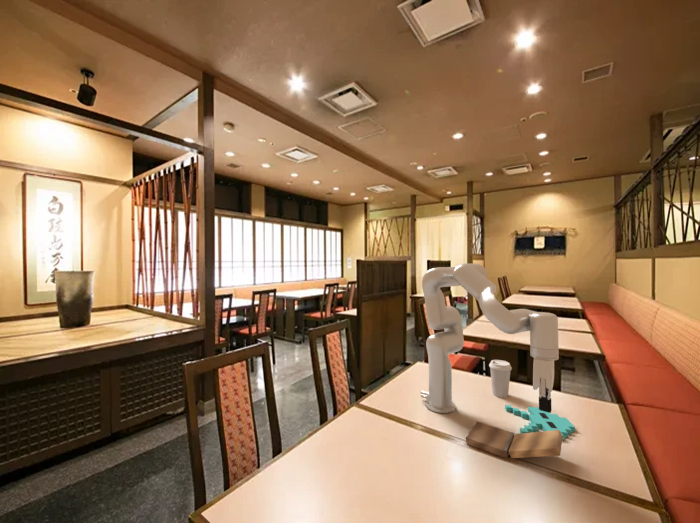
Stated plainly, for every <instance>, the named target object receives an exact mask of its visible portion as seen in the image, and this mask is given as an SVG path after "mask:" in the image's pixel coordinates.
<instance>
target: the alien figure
mask: <svg viewBox="0 0 700 523" xmlns="http://www.w3.org/2000/svg"><path fill="white" fill-rule="evenodd" d="M504 409H505V411H506V412H509V413H512V414H513V415H514V416H520V417H521V418H522V419H526V420H527V419H528V420H529V421H530V422H528V425H526V424H525V425H524V427H520V428H519V434H521V433H531V432H539V431H538V429H539V430H540V429H542V430H541V431H552V430H560V432H561V434H562V436H563V437H562V442H563V441H564V440H565V438H568V437H569V435H572V432H573V433H576V426H575V425H574V424H572V422H571V421H570V420H569V419H568V418H567V417H563V416H561V417H560V416H559V414H557V413H552V412H551V413H549V412H545V411H541V410H539V407H533V406H528V407H527V410H525V411H524V410H520V408H517V407H513V406H512V405H510V404H505V405H504ZM527 411H528V412H527ZM568 439H569V438H568Z"/></svg>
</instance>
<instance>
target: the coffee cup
mask: <svg viewBox="0 0 700 523" xmlns="http://www.w3.org/2000/svg"><path fill="white" fill-rule="evenodd" d="M488 366H489V368H490V369H489V370H490V378H491V389H492V390H491V391H492V392H491V393H492V395H493V396H495V397H498V398H501V399H504V398H505V399H506V398H508V397H509V391H510V380H511V379H510V378H511V371H512V369H513V367H512V366H511V364H510V362H508V361H506V360H501V359H492V360H491V361H490V363H489V364H488Z"/></svg>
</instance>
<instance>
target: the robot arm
mask: <svg viewBox="0 0 700 523" xmlns="http://www.w3.org/2000/svg"><path fill="white" fill-rule="evenodd" d="M459 286H460V287H462V288H463V289H464V290H465V291H466V292H467V293H469V295H471V297H473V298H474V299H475V300H477V301H478V305H479V308H480V310H481V312H482V313H483V315H484V316H485V318H486V319H487V320H488V321H489V322H490V323H491V324H492V325H493V326H494V327H495V328H496V329H498V330H500V331H501V332H502V333H504V334H506V335H507V334H508V335H515V334H519V333H524V332H525V333H526V332H529V346H530V347H529V348H530V349H529V351H530V352H529V353H530V355H529V356H530V357H532V358H533V364H532V365H533V366H532V367H533V368H532V389H533V390H534V391H535V390H538V395H539V396H538V408H539V410H541V411H545V412H549V413H551V414H552V398H551V394H552V391H553V387H554V382H555V361H558V360H559V358H560V357H559V353H560V352H559V319H558V316H557V315H556V314H554V313H551V312H545V311H544V312H543V311H535V310H532V309H531V310H530V309H528V308H517V309H510V310H509V309H508V308H506V307H505V306H504V305H503V304H502V303H501V302H500V301H499V300H498V299H497V297H496V296H495V294H496V292H497V286H496V284H495V283H494V282H492V281H491V280H490V279H488V272H487V269H486V268H485V266H483V265H482V264H480V263H475V262H474V263H461V264H458V265H457V266H447V267H446V266H445V267H444V266H443V267H442V266H440V267H439V266H438V267H432V268H430V269H428V270H427V271H425V272H424V274H423V276H422V278H421V288H422V292H423V297H424V303H425V304H424V305H425V306H424V307H425V312H426V313H425V314H426V322H427V325H428V327H429V328H430V329H431V330H444V331H441V332H436V333H432V334H431V335H430V336H428V337H427V339H426V343H425V345H426V346H425V347H426V352H427V357H428V391H424V390H421V391H420V397H421V398H423V399H425V402H424V405H425V407H426V408H427V409H428V410H430V411H432V412H434V413H438V414H450V413H453V412H454V411H455V410H456V409H457V408H456V407H457V406H456V404H455V403H456V402H454V401H453V400H452V398H453V397H452V395H453V392H452V388H453V387H452V385H453V384H452V383H453V382H452V380H453V379H452V376H453V374H452V373H453V372H452V371H453V370H452V368H453V367H452V363H451V360H450V357H449V355H450V354H454V353H456V352H457V353H458V352H460V351H461V350H462V349H463V347H464V344H465V341H464V338H465V337H464V330H463V323H462V316H461V314H460V312H459V310H458V309H457V308H456V307H454V306H452V305H447V304H446V297H445V295H444V293H443V291H442V290H441V288H445V287H446V288H449V287H459Z"/></svg>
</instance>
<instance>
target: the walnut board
mask: <svg viewBox="0 0 700 523" xmlns="http://www.w3.org/2000/svg"><path fill="white" fill-rule="evenodd" d="M515 434H516V433H515V432H513V431H509V430H506V429H502V428H499V427H497V426H493V425H490V424H487V423H483V422H481V421H478V420H476V422H475V423H474V425H473V426H472V428H471V429H470V431H469V432H468V434H467V435H466V437H465V439H466V440H465V443H467V445H469V446H472V447H475V448H478V449H480V450H483V451H485V452H488V453H491V454H493V455H496V454H497V455H496V456H499V455H500V456H499V457H502V458H505V459H508V457H509V456H510V454H509V452H508V451H509V449H510V446H511V444H512V441H513V439H514V436H515Z"/></svg>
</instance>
